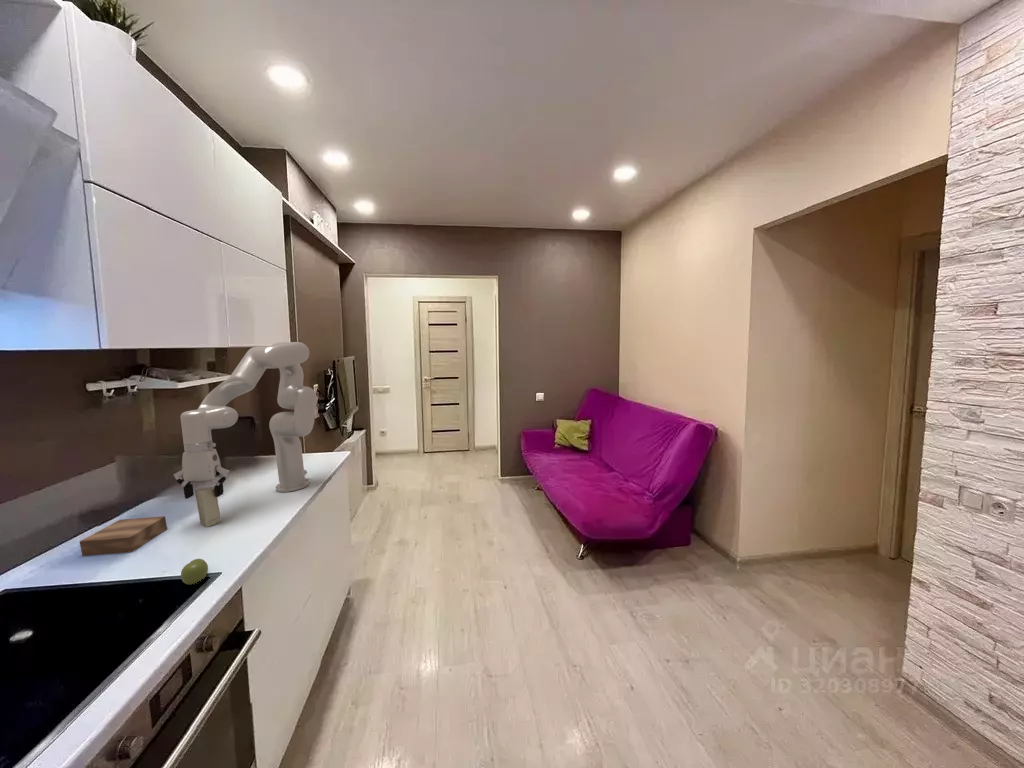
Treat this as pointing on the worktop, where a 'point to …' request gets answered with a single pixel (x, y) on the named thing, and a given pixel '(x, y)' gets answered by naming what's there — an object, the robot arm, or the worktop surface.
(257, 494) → the worktop surface
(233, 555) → the worktop surface
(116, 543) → the walnut block
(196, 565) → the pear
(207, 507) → the skincare box
